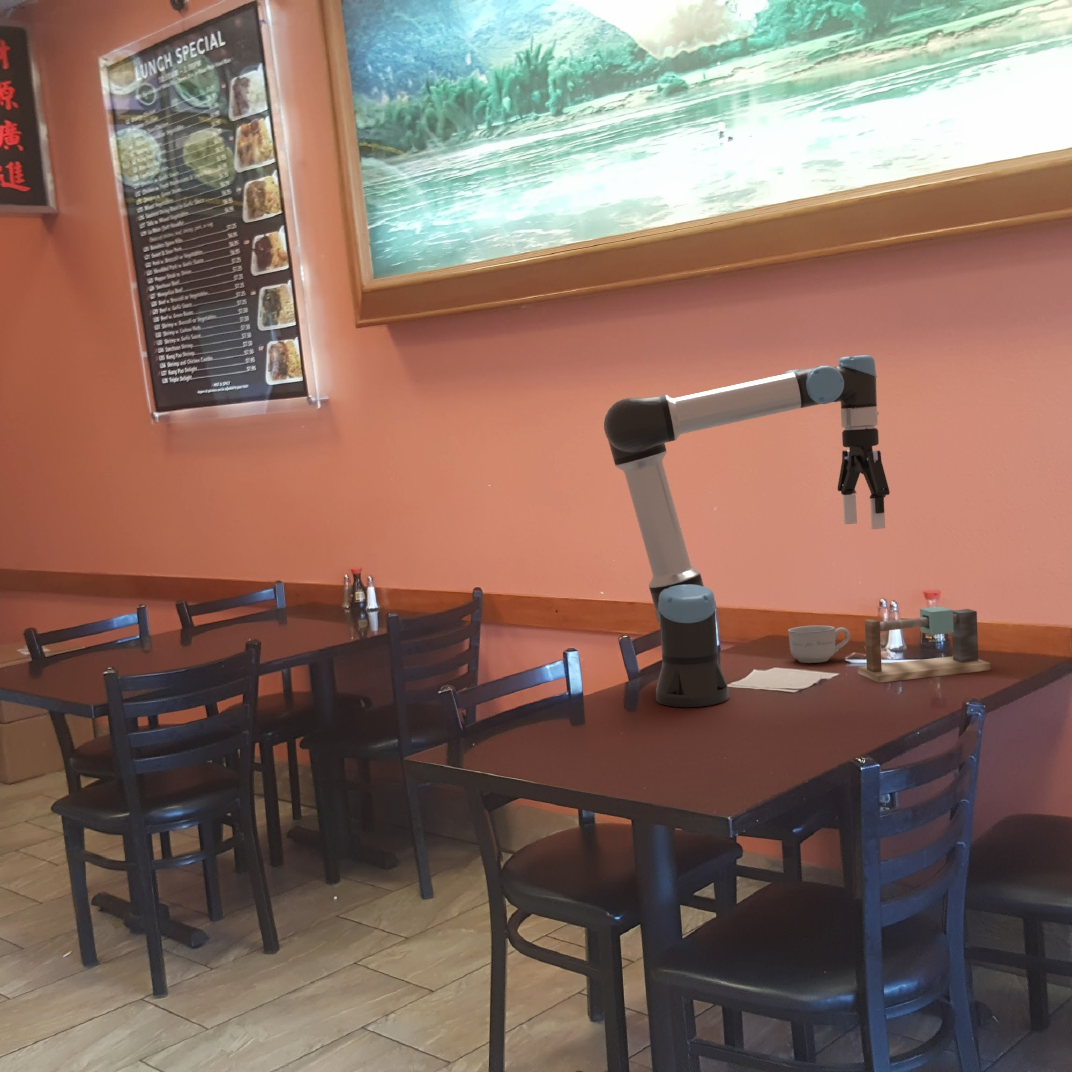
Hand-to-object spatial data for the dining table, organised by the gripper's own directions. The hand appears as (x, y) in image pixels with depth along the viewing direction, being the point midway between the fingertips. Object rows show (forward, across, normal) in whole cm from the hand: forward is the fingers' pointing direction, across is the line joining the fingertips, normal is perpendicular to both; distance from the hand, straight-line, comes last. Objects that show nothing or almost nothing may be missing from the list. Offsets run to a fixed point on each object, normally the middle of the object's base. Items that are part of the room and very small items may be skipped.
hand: (864, 526), depth 260 cm
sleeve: (+24, -3, -14) cm, 28 cm away
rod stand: (+33, -3, -11) cm, 35 cm away
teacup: (+33, +18, +4) cm, 38 cm away
